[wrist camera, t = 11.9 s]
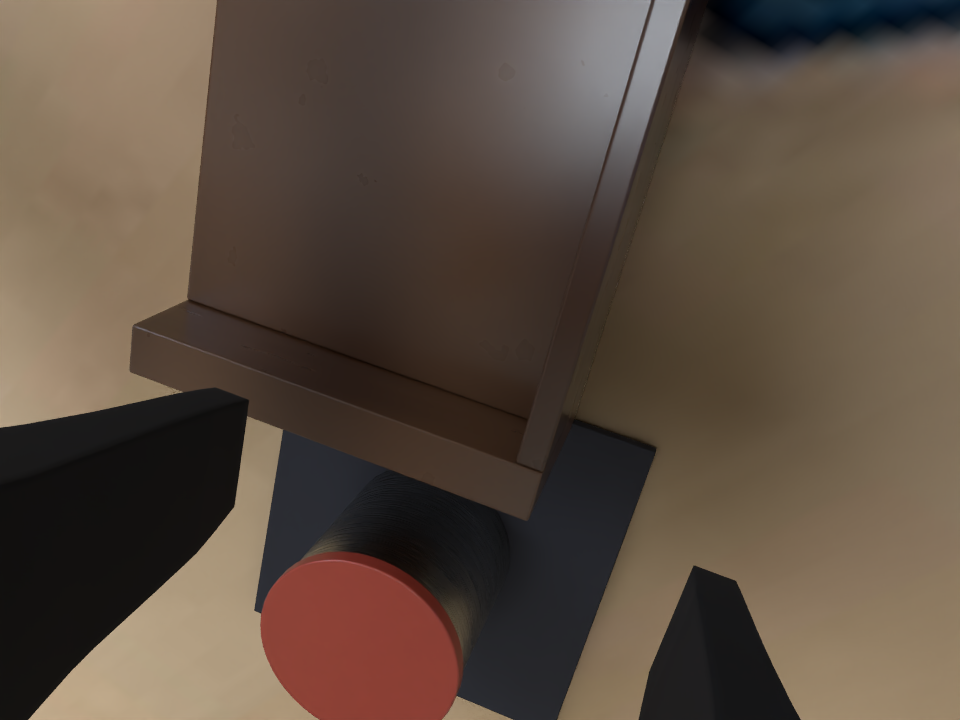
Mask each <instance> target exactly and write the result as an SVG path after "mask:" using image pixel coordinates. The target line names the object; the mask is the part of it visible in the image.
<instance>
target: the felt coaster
mask: <svg viewBox="0 0 960 720" xmlns="http://www.w3.org/2000/svg"><path fill="white" fill-rule="evenodd" d="M655 453H656V448H655V447H652V446H650V445H647V444H644V443H641V442H638V441H635V440H632V439H630V438H627V437H624V436H621V435H618V434H615V433H612V432H610V431H607V430H604V429H601V428H598V427H595V426H592V425H590V424H587V423H584V422H581V421H578V420H575V419H574V421H573V423H572V426H571V429H570V431H569V433H568V436H567V438H566V440H565V442H564V444H563V446H562V449H561V451H560V453H559V455H558V457H557V459H556V461H555V464H554V466H553V468H552V470H551V472H550V474H549V477H548V479H547V481H546V483H545V485H544V487H543V489H542V492H541V494H540V496H539V498H538V500H537V502H536V505H535V507H534V509H533V511H532V513H531V515H530V518H529V519H528V520H527V521H525V520H522V519H520V518H517V517H514V516H512V515H509V514H506V513H504V512H501V511H498V510H496V509H495V510H496V512H497V513H498V515H499V517H500V519H501V521H502V522H503V525H504V527H505V530H506V533H507V537H508V541H509V548H510V561H509V568H508V572H507V575H506V577H505V580H504V582H503V585H502V587H501V589H500V591H499V593H498V595H497V598H496V600H495V602H494V604H493V606H492V609H491V611H490V613H489V615H488V617H487V620H486V622H485V624H484V626H483V628H482V631H481V633H480V635H479V637H478V639H477V642H476V644H475V646H474V648H473V650H472V652H471V655H470V657H469V659H468V661H467V663H466V666H465V668H464V670H463V676H462V681H461V686H460V688H459V691H458V693H457V696H459V697H461V698H463V699H466V700H468V701H470V702H473V703H475V704H478V705H480V706H482V707H485V708H487V709H489V710H492V711H494V712H497V713H499V714H501V715H504V716H506V717H509V718H511V719H513V720H557V718H558V715H559V712H560V710H561V707H562V704H563V701H564V699H565V696H566V693H567V691H568V688H569V685H570V683H571V680H572V677H573V674H574V672H575V669H576V666H577V664H578V661H579V658H580V656H581V653H582V650H583V647H584V645H585V642H586V639H587V637H588V634H589V631H590V629H591V626H592V623H593V621H594V618H595V615H596V612H597V610H598V607H599V604H600V602H601V599H602V596H603V594H604V591H605V588H606V585H607V583H608V580H609V577H610V575H611V572H612V569H613V567H614V564H615V561H616V559H617V556H618V553H619V550H620V548H621V545H622V542H623V540H624V537H625V534H626V532H627V529H628V526H629V523H630V521H631V518H632V515H633V513H634V510H635V507H636V505H637V502H638V499H639V497H640V494H641V491H642V488H643V486H644V483H645V480H646V478H647V475H648V472H649V470H650V467H651V464H652V461H653V459H654V456H655ZM388 470H389V469H387V468H384V467H381V466H379V465H376V464H373V463H371V462H368V461H365V460H363V459H360V458H357V457H355V456H352V455H349V454H347V453H344V452H341V451H339V450H336V449H334V448H331V447H328V446H326V445H323V444H320V443H318V442H315V441H312V440H310V439H307V438H304V437H302V436H299V435H296V434H294V433H291V432H288V431H286V430H283V435H282V441H281V448H280V454H279V460H278V466H277V472H276V479H275V485H274V491H273V497H272V503H271V510H270V516H269V522H268V528H267V535H266V541H265V547H264V553H263V559H262V566H261V572H260V578H259V584H258V590H257V597H256V603H255V609H254V610H255V611H257V612H259V613H262V609H263V605H264V602H265V599H266V597H267V595H268V592H269V591H270V589H271V588H272V586H273V585H274V584H275V582H276V581H277V580H278V579H279V578H280V577H281V576H282V575H283V574H284V573H285V571H286V570H287V569H289V568H290V567H291V566H293V565H294V564H295V563H297V562H299V561H300V560H301V559H302V558H303V557H304V556H305V554H306V553H307V552H308V551H309V550H310V549H311V548H312V546H313V545H314V544H315V543H316V542H317V541H318V540H319V538H320V537H321V536H322V535H323V534H324V533H325V531H326V530H327V529H328V528H329V527H330V526H331V525H332V523H333V522H334V521H335V520H336V519H337V518H338V517H339V515H340V514H341V513H342V512H343V511H344V510H345V509H346V507H347V506H348V505H349V504H350V503H351V502H352V500H353V499H354V498H355V497H356V496H357V495H358V494H359V492H360V491H361V490H362V489H363V488H364V487H365V486H366V485H367V484H368V483H369V482H370V481H371V480H372V479H374V478H375V477H376V476H378V475H380V474H382V473H383V472H386V471H388Z"/></svg>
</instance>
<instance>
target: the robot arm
mask: <svg viewBox="0 0 960 720" xmlns="http://www.w3.org/2000/svg"><path fill="white" fill-rule="evenodd" d="M248 405H249V400H248V399H246V398H243V397H240V396H238V395H235V394H232V393H230V392H227V391H224V390H222V389H219V388H216V387H214V388H206V389H199V390H193V391H188V392H183V393H178V394H173V395H168V396H164V397H159V398H155V399H150V400H146V401H141V402H136V403H132V404H127V405H123V406H118V407H114V408H109V409H104V410H100V411H95V412H90V413H85V414H79V415H74V416H68V417H63V418H57V419H52V420H46V421H41V422H36V423H30V424H24V425H17V426H11V427H3V428H0V720H28V719H29V718H30V717H31V716H32V715H33V714H34V712H35V711H36V710H37V709H38V708H39V707H40V706H41V704H42V703H43V702H44V701H45V700H46V699H47V698H48V697H49V695H50V694H51V693H52V692H53V691H54V690H55V689H56V688H57V686H58V685H59V684H60V683H61V682H62V681H63V680H64V679H65V677H66V676H67V675H68V674H69V673H70V672H71V671H72V670H73V669H74V668H75V667H76V666H77V665H78V664H79V663H80V662H81V661H82V660H83V659H84V658H85V657H86V656H87V655H88V654H89V653H90V652H91V651H92V650H93V649H94V648H95V647H96V646H97V645H98V644H99V643H100V642H101V641H102V640H103V639H104V638H105V637H107V636H108V635H109V634H110V633H111V632H112V631H113V630H114V629H115V628H116V627H117V626H119V625H120V624H121V623H122V622H123V621H124V620H125V619H126V618H127V617H128V616H129V615H131V614H132V613H133V612H134V611H135V610H136V609H137V608H138V607H139V606H140V605H141V604H143V603H144V602H145V601H146V600H147V599H148V598H149V597H150V596H151V595H152V594H153V593H155V592H156V591H157V590H158V589H159V588H160V587H161V586H162V585H163V584H164V583H165V582H166V581H167V580H169V579H170V578H171V577H172V576H173V575H174V574H175V573H176V572H177V571H178V570H179V569H180V568H181V567H182V566H184V565H185V564H186V563H187V562H188V561H189V560H190V559H191V558H192V557H193V556H194V555H195V554H196V553H197V552H198V551H199V550H200V548H201V547H202V546H203V545H204V544H205V542H206V541H207V540H208V539H209V538H210V537H211V535H212V534H213V533H214V532H215V530H216V529H217V528H218V527H219V525H220V524H221V523H222V522H223V520H224V519H225V518H226V516H227V515H228V514H229V513H230V511H231V510H232V509H233V508H234V505H235V498H236V491H237V484H238V477H239V470H240V463H241V455H242V448H243V441H244V434H245V427H246V420H247V413H248ZM639 720H801V719H800V718H799V716H798V714H797V712H796V711H795V709H794V707H793V705H792V703H791V701H790V699H789V697H788V695H787V693H786V691H785V689H784V687H783V685H782V683H781V681H780V679H779V677H778V675H777V673H776V671H775V669H774V667H773V665H772V662H771V660H770V658H769V656H768V654H767V652H766V649H765V647H764V645H763V643H762V640H761V638H760V636H759V633H758V631H757V629H756V626H755V624H754V622H753V619H752V617H751V615H750V612H749V610H748V607H747V605H746V603H745V600H744V598H743V595H742V593H741V591H740V589H739V587H738V584H737V582H736V581H735V580H732V579H729V578H727V577H724V576H721V575H719V574H716V573H713V572H711V571H708V570H705V569H702V568H700V567H697V566H693V568H692V571H691V573H690V576H689V578H688V580H687V583H686V585H685V588H684V590H683V592H682V595H681V597H680V600H679V602H678V604H677V607H676V609H675V611H674V614H673V616H672V619H671V621H670V623H669V626H668V628H667V631H666V633H665V635H664V638H663V640H662V643H661V645H660V647H659V650H658V652H657V655H656V657H655V659H654V662H653V664H652V666H651V669H650V671H649V675H648V680H647V684H646V689H645V693H644V698H643V702H642V706H641V711H640V716H639Z"/></svg>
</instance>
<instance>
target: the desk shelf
mask: <svg viewBox="0 0 960 720" xmlns="http://www.w3.org/2000/svg"><path fill="white" fill-rule="evenodd" d="M707 2H708V0H217V7H216V17H215V27H214V37H213V47H212V57H211V67H210V77H209V87H208V97H207V107H206V117H205V127H204V137H203V146H202V156H201V166H200V176H199V186H198V196H197V206H196V216H195V226H194V236H193V246H192V256H191V266H190V276H189V286H188V295H187V298H188V299H189V300H187V301H185V302H182V303H180V304H178V305H176V306H174V307H171V308H169V309H167V310H165V311H163V312H160V313H158V314H156V315H154V316H152V317H149V318H147V319H145V320H143V321H141V322H138V323H136V324H134V325H133V329H132V342H131V356H130V369H129V370H130V372H131V373H134V374H137V375H139V376H142V377H145V378H147V379H150V380H153V381H155V382H158V383H161V384H163V385H166V386H169V387H171V388H174V389H177V390H179V391H182V392H188V391H193V390H199V389H206V388H214V387H216V388H219V389H222V390H224V391H227V392H230V393H232V394H235V395H238V396H240V397H243V398H246V399H248V400H249V405H248V413H247V416H248V417H251V418H254V419H256V420H259V421H262V422H264V423H267V424H270V425H272V426H275V427H278V428H280V429H283V430H286V431H288V432H291V433H294V434H296V435H299V436H302V437H304V438H307V439H310V440H312V441H315V442H318V443H320V444H323V445H326V446H328V447H331V448H334V449H336V450H339V451H341V452H344V453H347V454H349V455H352V456H355V457H357V458H360V459H363V460H365V461H368V462H371V463H373V464H376V465H379V466H381V467H384V468H387V469H389V470H392V471H395V472H397V473H400V474H403V475H405V476H408V477H411V478H413V479H416V480H419V481H421V482H424V483H427V484H429V485H432V486H435V487H437V488H440V489H443V490H445V491H448V492H450V493H453V494H456V495H458V496H461V497H464V498H466V499H469V500H472V501H474V502H477V503H480V504H482V505H485V506H488V507H490V508H493V509H496V510H498V511H501V512H504V513H506V514H509V515H512V516H514V517H517V518H520V519H522V520H525V521H527V520H528V519H529V518H530V515H531V513H532V511H533V509H534V507H535V505H536V502H537V500H538V498H539V496H540V494H541V492H542V489H543V487H544V485H545V483H546V481H547V479H548V477H549V474H550V472H551V470H552V468H553V466H554V464H555V461H556V459H557V457H558V455H559V453H560V451H561V449H562V446H563V444H564V442H565V440H566V438H567V436H568V433H569V431H570V429H571V426H572V423H573V421H574V419H575V416H576V413H577V409H578V406H579V403H580V400H581V397H582V394H583V391H584V386H585V384H586V381H587V378H588V375H589V372H590V369H591V365H592V362H593V359H594V356H595V353H596V350H597V347H598V343H599V340H600V337H601V334H602V331H603V328H604V325H605V322H606V318H607V315H608V312H609V309H610V306H611V303H612V300H613V297H614V293H615V290H616V287H617V284H618V281H619V278H620V275H621V271H622V268H623V265H624V262H625V259H626V256H627V253H628V250H629V246H630V243H631V240H632V237H633V234H634V231H635V228H636V225H637V221H638V218H639V215H640V212H641V209H642V206H643V203H644V199H645V196H646V193H647V190H648V187H649V184H650V181H651V178H652V174H653V171H654V168H655V165H656V162H657V159H658V156H659V153H660V149H661V146H662V143H663V140H664V137H665V134H666V131H667V127H668V124H669V121H670V118H671V115H672V112H673V109H674V106H675V102H676V99H677V96H678V93H679V90H680V87H681V84H682V81H683V77H684V74H685V71H686V68H687V65H688V62H689V59H690V55H691V52H692V49H693V46H694V43H695V40H696V37H697V34H698V30H699V27H700V24H701V21H702V18H703V15H704V12H705V9H706V5H707Z"/></svg>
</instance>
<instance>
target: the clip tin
mask: <svg viewBox="0 0 960 720" xmlns="http://www.w3.org/2000/svg"><path fill="white" fill-rule="evenodd" d="M509 561H510V548H509V541H508V537H507V533H506V530H505V527H504V525H503V522H502V521H501V519H500V517H499V515H498V513H497V512H496V510H495V509H493V508H490V507H488V506H485V505H482V504H480V503H477V502H474V501H472V500H469V499H466V498H464V497H461V496H458V495H456V494H453V493H450V492H448V491H445V490H443V489H440V488H437V487H435V486H432V485H429V484H427V483H424V482H421V481H419V480H416V479H413V478H411V477H408V476H405V475H403V474H400V473H397V472H395V471H392V470H388V471H386V472H383V473H382V474H380V475H378V476H376V477H375V478H374V479H372V480H371V481H370V482H369V483H368V484H367V485H366V486H365V487H364V488H363V489H362V490H361V491H360V492H359V494H358V495H357V496H356V497H355V498H354V499H353V500H352V502H351V503H350V504H349V505H348V506H347V507H346V509H345V510H344V511H343V512H342V513H341V514H340V515H339V517H338V518H337V519H336V520H335V521H334V522H333V523H332V525H331V526H330V527H329V528H328V529H327V530H326V531H325V533H324V534H323V535H322V536H321V537H320V538H319V540H318V541H317V542H316V543H315V544H314V545H313V546H312V548H311V549H310V550H309V551H308V552H307V553H306V554H305V556H304V557H303V558H302V559H301V560H300V561H299V562H297V563H295V564H294V565H293V566H291V567H290V568H289V569H287V570H286V571H285V573H284V574H283V575H282V576H281V577H280V578H279V579H278V580H277V581H276V582H275V584H274V585H273V586H272V588H271V589H270V591H269V592H268V595H267V597H266V599H265V602H264V605H263V609H262V613H261V624H260V626H261V638H262V643H263V647H264V650H265V654H266V657H267V659H268V661H269V664H270V666H271V668H272V670H273V672H274V673H275V675H276V677H277V678H278V680H279V681H280V683H281V684H282V685H283V687H284V688H285V689H286V691H287V692H288V693H289V694H290V695H291V696H292V697H293V698H294V699H295V700H296V701H297V702H298V703H299V704H300V705H301V706H302V707H303V708H304V709H306V710H307V711H308V712H310V713H311V714H312V715H313V716H315V717H316V718H318V719H319V720H442V719H443V717H444V716H445V715H446V714H447V713H448V711H449V710H450V708H451V706H452V705H453V703H454V700H455V698H456V696H457V693H458V691H459V688H460V686H461V681H462V676H463V670H464V668H465V666H466V663H467V661H468V659H469V657H470V655H471V652H472V650H473V648H474V646H475V644H476V642H477V639H478V637H479V635H480V633H481V631H482V628H483V626H484V624H485V622H486V620H487V617H488V615H489V613H490V611H491V609H492V606H493V604H494V602H495V600H496V598H497V595H498V593H499V591H500V589H501V587H502V585H503V582H504V580H505V577H506V575H507V572H508V568H509Z"/></svg>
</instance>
